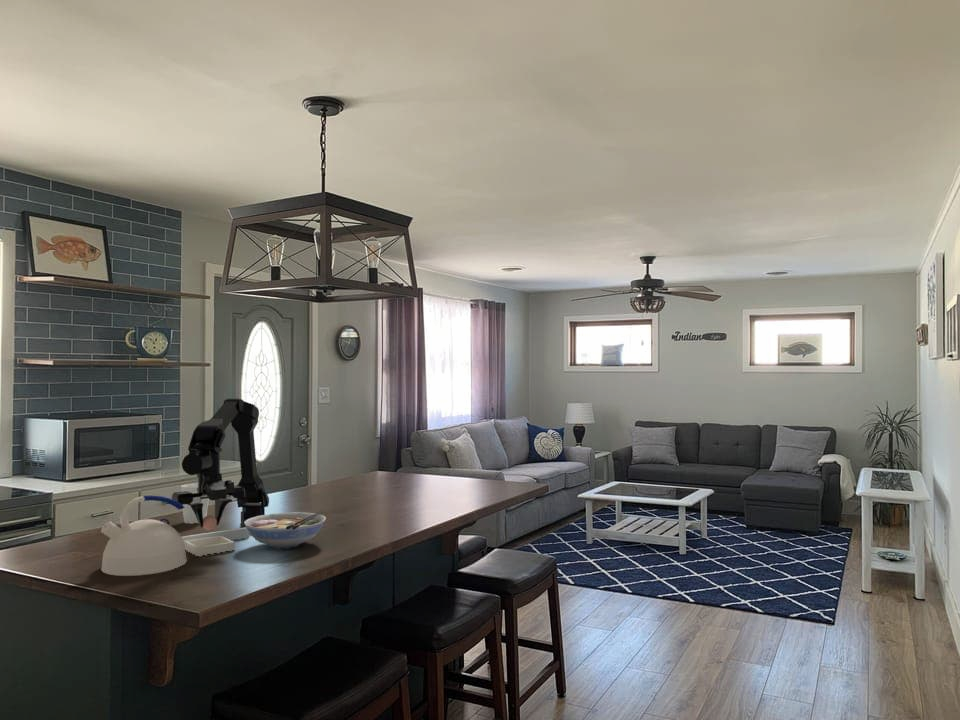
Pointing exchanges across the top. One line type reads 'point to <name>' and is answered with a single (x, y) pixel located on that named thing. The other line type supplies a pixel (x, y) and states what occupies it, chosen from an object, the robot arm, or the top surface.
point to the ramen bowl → (285, 528)
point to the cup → (187, 510)
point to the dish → (209, 545)
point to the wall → (221, 534)
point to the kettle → (142, 544)
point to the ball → (209, 522)
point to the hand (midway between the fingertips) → (209, 525)
